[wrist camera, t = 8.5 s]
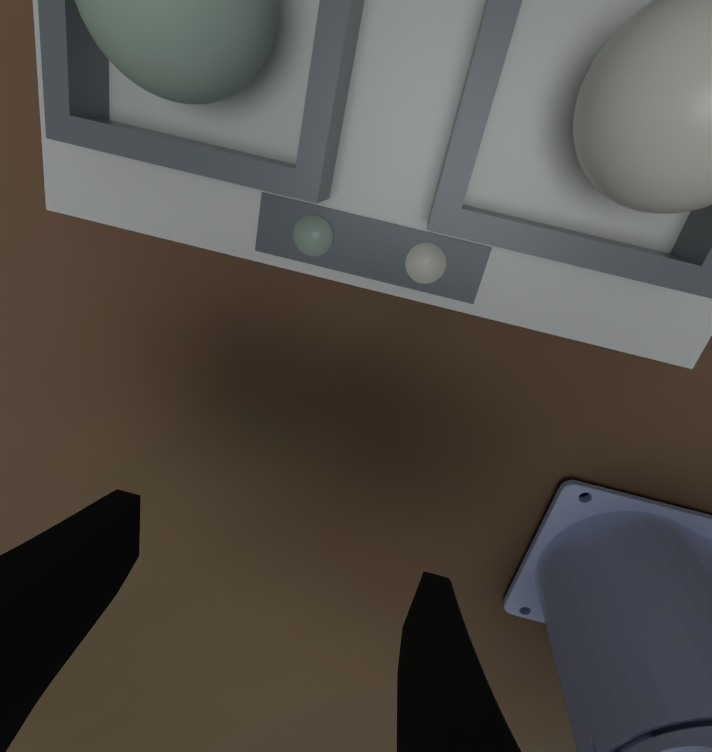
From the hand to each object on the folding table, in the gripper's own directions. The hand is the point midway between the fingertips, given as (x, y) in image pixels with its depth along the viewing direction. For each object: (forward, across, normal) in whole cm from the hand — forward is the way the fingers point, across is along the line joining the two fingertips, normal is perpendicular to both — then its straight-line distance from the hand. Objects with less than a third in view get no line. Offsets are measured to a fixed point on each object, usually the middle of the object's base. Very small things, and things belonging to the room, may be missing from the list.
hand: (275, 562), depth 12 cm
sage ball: (+6, +6, -12) cm, 15 cm away
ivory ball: (+6, -7, -12) cm, 15 cm away
